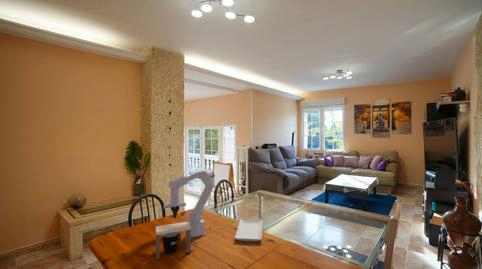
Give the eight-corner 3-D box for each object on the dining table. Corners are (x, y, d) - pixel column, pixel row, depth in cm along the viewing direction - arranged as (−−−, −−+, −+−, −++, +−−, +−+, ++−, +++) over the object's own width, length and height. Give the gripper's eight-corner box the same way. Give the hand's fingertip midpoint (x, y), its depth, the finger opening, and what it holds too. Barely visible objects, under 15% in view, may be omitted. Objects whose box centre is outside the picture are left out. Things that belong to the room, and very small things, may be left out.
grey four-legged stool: (188, 246, 134) (188, 221, 134) (190, 252, 127) (190, 226, 127) (155, 252, 127) (155, 226, 127) (156, 259, 120) (156, 232, 120)
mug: (170, 257, 122) (170, 238, 122) (158, 252, 127) (158, 234, 127) (186, 247, 133) (186, 230, 133) (175, 243, 137) (175, 226, 137)
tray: (234, 243, 138) (234, 237, 138) (240, 223, 169) (240, 218, 169) (262, 244, 136) (261, 239, 136) (262, 223, 167) (262, 219, 167)
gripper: (184, 195, 160) (184, 214, 161) (163, 197, 155) (163, 217, 155) (186, 197, 154) (186, 217, 154) (163, 200, 148) (164, 220, 148)
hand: (174, 217), depth 154 cm, fingers closed
